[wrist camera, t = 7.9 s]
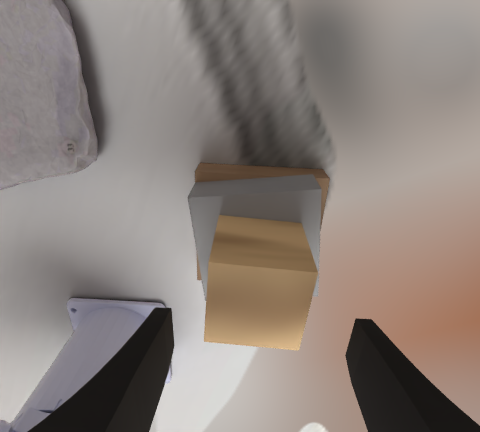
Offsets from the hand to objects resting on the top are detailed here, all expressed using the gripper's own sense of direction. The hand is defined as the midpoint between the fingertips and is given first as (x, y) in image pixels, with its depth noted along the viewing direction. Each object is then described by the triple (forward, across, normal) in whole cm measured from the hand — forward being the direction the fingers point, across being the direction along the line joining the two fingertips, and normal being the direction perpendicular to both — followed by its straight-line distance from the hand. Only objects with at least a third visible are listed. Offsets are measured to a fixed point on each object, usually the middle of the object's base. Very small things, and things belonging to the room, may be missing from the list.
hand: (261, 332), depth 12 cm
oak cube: (+6, 0, 0) cm, 6 cm away
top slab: (+8, 0, 0) cm, 8 cm away
